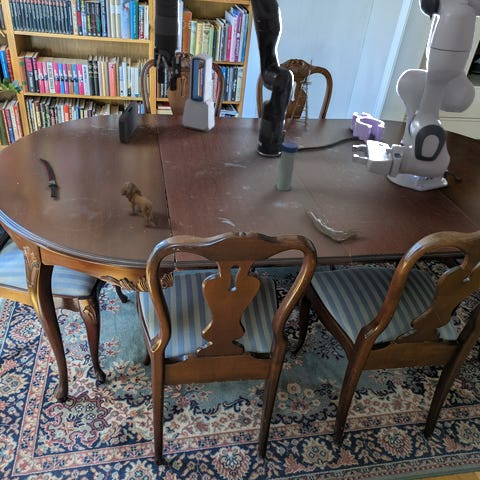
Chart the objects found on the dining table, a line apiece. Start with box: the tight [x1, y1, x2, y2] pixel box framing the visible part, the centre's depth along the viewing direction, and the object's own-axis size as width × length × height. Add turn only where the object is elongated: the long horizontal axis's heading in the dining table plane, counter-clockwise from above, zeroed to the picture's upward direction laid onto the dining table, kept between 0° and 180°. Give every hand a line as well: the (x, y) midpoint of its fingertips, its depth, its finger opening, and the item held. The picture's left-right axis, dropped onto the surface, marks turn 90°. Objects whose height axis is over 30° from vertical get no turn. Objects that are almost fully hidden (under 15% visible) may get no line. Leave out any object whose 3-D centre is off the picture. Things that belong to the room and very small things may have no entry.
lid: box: [281, 141, 299, 154], centre depth 153 cm, size 5×5×2 cm
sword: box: [40, 158, 59, 198], centre depth 151 cm, size 31×3×1 cm, turn 26°
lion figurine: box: [119, 181, 159, 227], centre depth 134 cm, size 15×5×9 cm, turn 50°
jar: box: [276, 151, 297, 192], centre depth 157 cm, size 5×5×15 cm
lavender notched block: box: [349, 112, 386, 143], centre depth 214 cm, size 20×12×7 cm, turn 11°
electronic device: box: [181, 53, 216, 133], centre depth 194 cm, size 12×8×30 cm, turn 71°
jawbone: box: [303, 208, 364, 243], centre depth 139 cm, size 9×20×2 cm, turn 50°
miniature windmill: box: [288, 59, 313, 132], centre depth 208 cm, size 9×8×30 cm
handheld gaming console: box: [117, 101, 139, 143], centre depth 187 cm, size 23×3×10 cm, turn 178°
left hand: (166, 86), depth 148 cm, fingers open, 8 cm apart
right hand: (351, 152), depth 153 cm, fingers open, 8 cm apart
